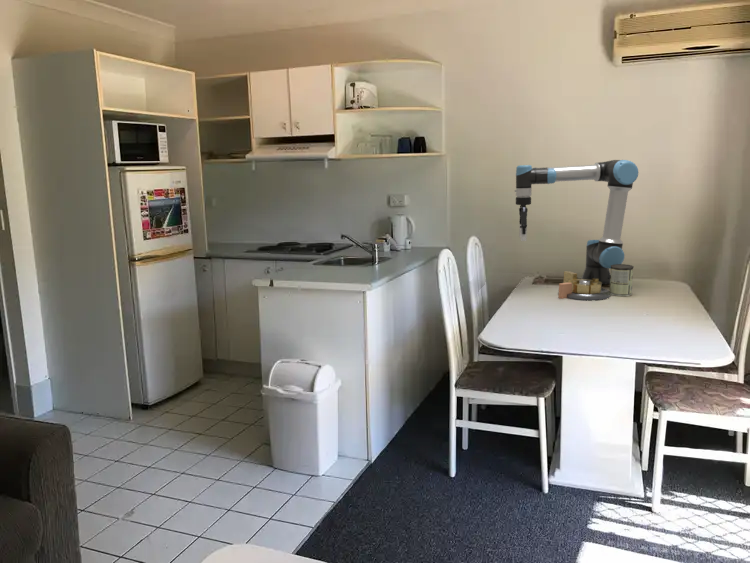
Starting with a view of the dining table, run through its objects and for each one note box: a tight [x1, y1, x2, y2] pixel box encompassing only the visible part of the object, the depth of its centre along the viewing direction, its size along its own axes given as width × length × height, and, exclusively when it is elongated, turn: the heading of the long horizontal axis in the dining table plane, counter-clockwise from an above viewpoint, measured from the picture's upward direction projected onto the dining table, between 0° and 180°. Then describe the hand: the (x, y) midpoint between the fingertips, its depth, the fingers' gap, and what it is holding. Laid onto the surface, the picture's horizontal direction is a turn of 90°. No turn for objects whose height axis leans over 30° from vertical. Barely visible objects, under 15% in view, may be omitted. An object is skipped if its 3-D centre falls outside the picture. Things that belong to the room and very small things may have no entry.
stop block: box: [557, 282, 572, 300], centre depth 299 cm, size 6×2×7 cm, turn 114°
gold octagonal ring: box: [562, 270, 602, 294], centre depth 307 cm, size 22×15×7 cm
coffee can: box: [609, 263, 634, 297], centre depth 304 cm, size 10×10×14 cm
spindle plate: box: [566, 280, 611, 302], centre depth 304 cm, size 24×24×7 cm
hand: (522, 238), depth 314 cm, fingers open, 13 cm apart
